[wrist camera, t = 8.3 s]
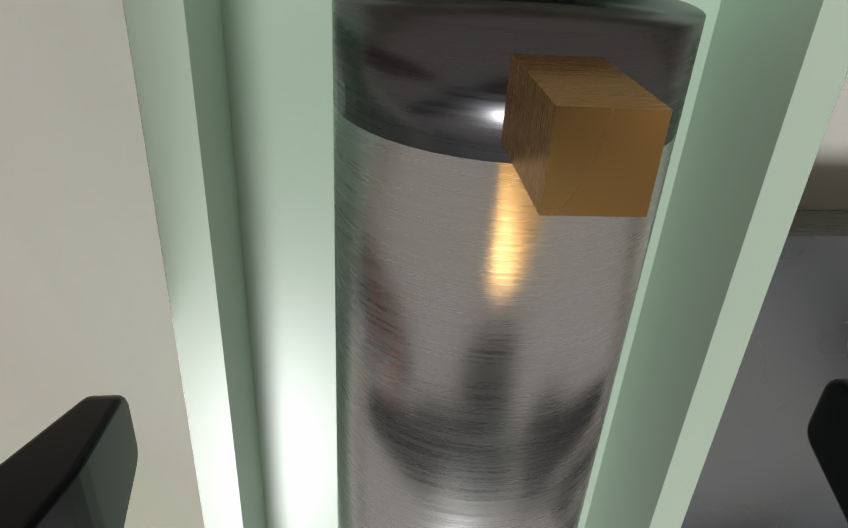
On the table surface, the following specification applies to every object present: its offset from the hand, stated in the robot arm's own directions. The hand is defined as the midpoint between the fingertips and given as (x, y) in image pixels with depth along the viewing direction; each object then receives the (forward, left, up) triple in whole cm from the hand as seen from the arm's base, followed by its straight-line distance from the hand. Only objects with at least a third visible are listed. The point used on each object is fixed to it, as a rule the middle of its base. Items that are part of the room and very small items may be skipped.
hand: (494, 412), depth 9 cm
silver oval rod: (0, +3, -3) cm, 5 cm away
